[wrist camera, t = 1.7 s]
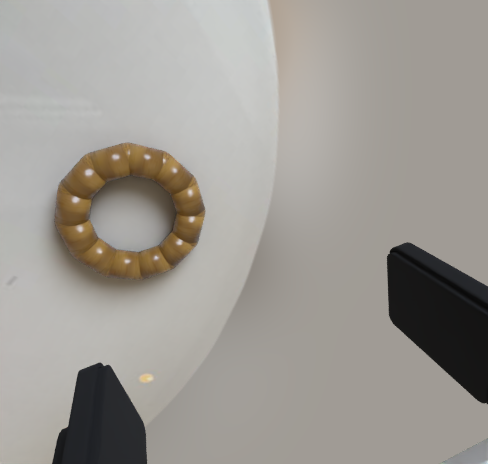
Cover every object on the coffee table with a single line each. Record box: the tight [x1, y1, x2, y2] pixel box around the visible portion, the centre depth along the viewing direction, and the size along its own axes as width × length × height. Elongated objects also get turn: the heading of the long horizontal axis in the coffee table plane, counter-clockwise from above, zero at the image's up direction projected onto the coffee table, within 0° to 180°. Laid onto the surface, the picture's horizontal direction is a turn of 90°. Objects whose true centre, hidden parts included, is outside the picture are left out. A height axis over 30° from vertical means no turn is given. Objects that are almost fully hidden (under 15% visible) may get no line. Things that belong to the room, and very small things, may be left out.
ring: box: [54, 143, 205, 280], centre depth 23 cm, size 10×10×2 cm
